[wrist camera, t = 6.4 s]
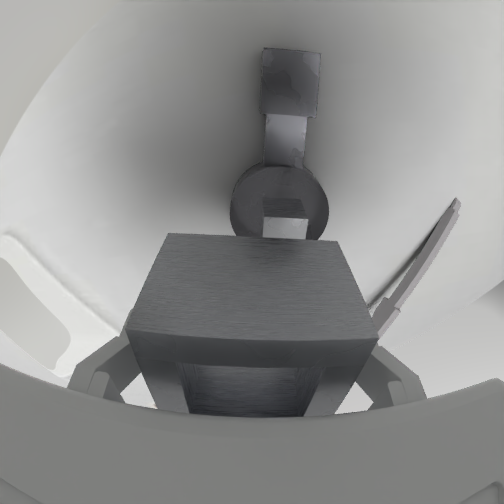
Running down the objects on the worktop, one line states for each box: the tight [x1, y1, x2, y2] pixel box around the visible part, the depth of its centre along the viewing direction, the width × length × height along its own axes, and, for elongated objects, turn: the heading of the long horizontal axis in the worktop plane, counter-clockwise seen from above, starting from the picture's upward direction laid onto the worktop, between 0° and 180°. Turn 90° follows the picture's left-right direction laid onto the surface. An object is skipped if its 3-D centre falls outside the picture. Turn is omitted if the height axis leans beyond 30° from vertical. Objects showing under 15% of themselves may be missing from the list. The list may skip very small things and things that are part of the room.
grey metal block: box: [125, 233, 379, 418], centre depth 11 cm, size 7×7×5 cm
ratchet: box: [230, 48, 329, 240], centre depth 20 cm, size 17×8×6 cm, turn 178°
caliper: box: [372, 198, 461, 340], centre depth 27 cm, size 20×1×6 cm, turn 152°
